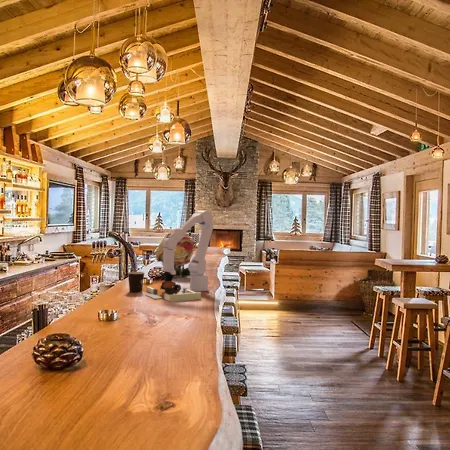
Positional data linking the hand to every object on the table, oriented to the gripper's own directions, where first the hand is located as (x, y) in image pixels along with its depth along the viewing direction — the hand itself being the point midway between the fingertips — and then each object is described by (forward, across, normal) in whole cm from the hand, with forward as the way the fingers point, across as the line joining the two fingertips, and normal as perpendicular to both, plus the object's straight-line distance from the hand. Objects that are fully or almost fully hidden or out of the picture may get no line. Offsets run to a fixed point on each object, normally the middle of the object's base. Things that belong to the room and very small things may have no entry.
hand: (167, 286), depth 234 cm
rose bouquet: (+4, -55, +31) cm, 63 cm away
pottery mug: (+4, +7, -2) cm, 8 cm away
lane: (+3, +6, -1) cm, 7 cm away
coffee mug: (+4, -11, -12) cm, 17 cm away
